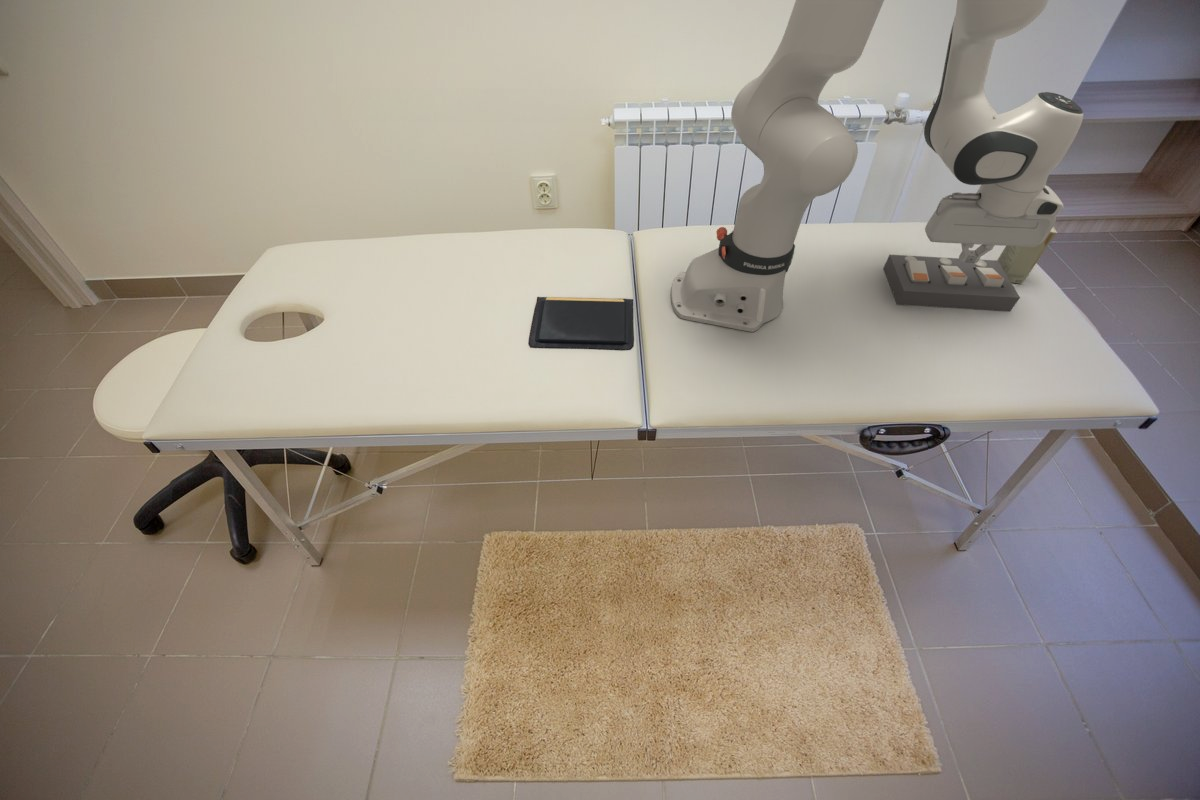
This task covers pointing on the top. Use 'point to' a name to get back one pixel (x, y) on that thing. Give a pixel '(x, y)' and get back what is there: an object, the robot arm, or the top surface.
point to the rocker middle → (953, 275)
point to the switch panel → (945, 294)
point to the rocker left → (917, 271)
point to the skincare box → (1022, 258)
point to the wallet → (582, 324)
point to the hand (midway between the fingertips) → (967, 260)
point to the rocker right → (989, 277)
